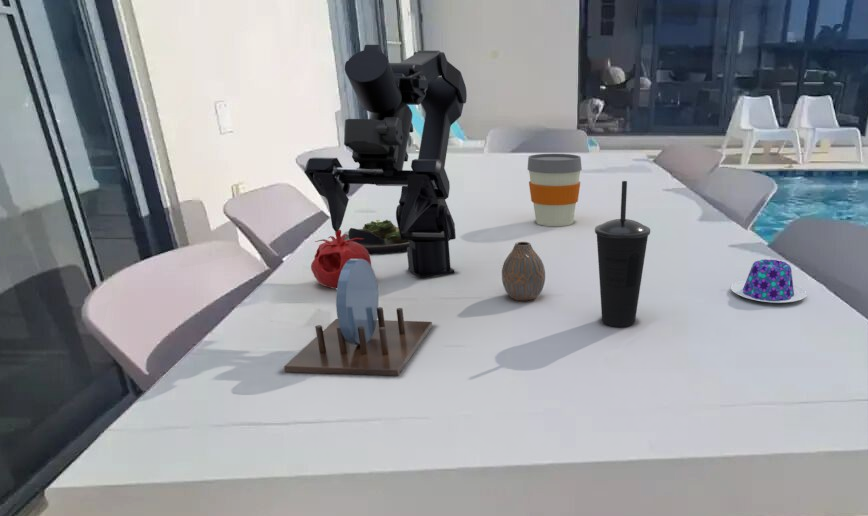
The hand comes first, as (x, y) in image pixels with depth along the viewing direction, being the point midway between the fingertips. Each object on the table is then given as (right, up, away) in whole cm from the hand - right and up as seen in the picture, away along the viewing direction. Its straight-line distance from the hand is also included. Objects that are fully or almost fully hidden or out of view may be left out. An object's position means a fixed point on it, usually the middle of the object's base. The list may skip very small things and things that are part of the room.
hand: (368, 230), depth 85 cm
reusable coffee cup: (+24, +16, +68) cm, 73 cm away
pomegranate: (-11, -4, +24) cm, 27 cm away
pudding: (+60, -7, +20) cm, 63 cm away
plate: (0, -15, -1) cm, 15 cm away
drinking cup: (+34, -12, +8) cm, 37 cm away
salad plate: (-12, +7, +48) cm, 50 cm away
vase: (+20, -7, +18) cm, 27 cm away
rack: (0, -16, -1) cm, 16 cm away
